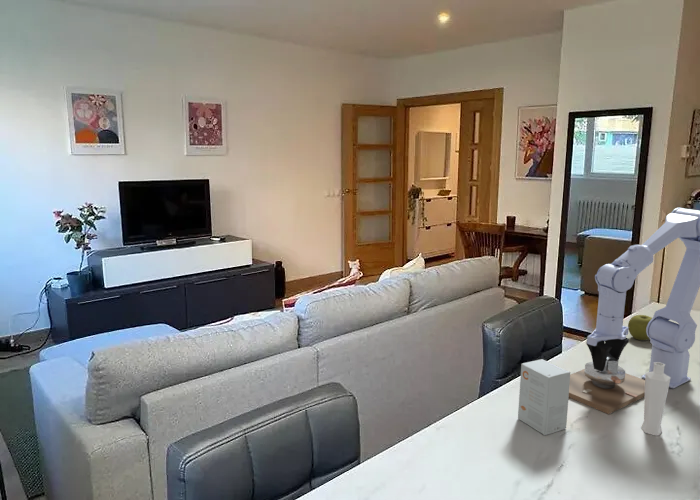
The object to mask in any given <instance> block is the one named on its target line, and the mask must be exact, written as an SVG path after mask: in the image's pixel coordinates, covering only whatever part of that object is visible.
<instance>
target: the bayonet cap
mask: <svg viewBox="0 0 700 500" xmlns="http://www.w3.org/2000/svg"><path fill="white" fill-rule="evenodd" d="M584 369H585V371H584V374H585V376H586V377H587V378H589V379H591V380H593V381H596V382H599V383H603V384H621V383H623V382H624V380H625V373H626V370H625V369H624V368H623V367H622V366H619V360H617V359H615V358H614V357H613V356H611V355H610V354H608V356H607V359H606V364H605V368H604V370H603V371H599V370H596V369H594V366H593V361H589V362H587V363H585V364H584Z"/></svg>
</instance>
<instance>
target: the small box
mask: <svg viewBox="0 0 700 500" xmlns="http://www.w3.org/2000/svg"><path fill="white" fill-rule="evenodd" d="M520 365H521V366H520V378H519V379H520V380H519V395H518V396H519V397H518V411H517V419H518V420H520V421H521V422H523V423H525V424H526V425H528V426H529V427H531V428H532V429H534V430H536V431H538V432H539V433H540V434H542V435H544V436H547V435H550V434H554V433H556V432H560V431H562V430H566V429H567V421H568V420H567V419H568V410H569V408H568V407H569V398H570V397H569V384H570V375H571V371H568V370H566V369H565V368H562V367H560V366H557V365H556V364H554V363H550V361H548V360H545V359H543V358H541V359H536V360H532V361H527V362H523V363H521V364H520Z"/></svg>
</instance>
